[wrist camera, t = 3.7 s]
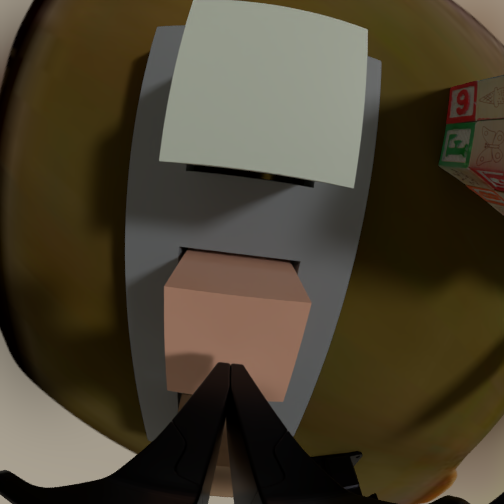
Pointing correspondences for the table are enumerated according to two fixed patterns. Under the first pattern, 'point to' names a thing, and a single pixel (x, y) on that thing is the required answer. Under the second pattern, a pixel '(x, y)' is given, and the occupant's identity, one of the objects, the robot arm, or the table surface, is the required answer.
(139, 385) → the key board
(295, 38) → the pale green cube
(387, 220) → the table surface
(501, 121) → the stack of blocks
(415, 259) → the table surface
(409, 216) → the table surface
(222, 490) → the walnut key
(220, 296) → the salmon pink cube
